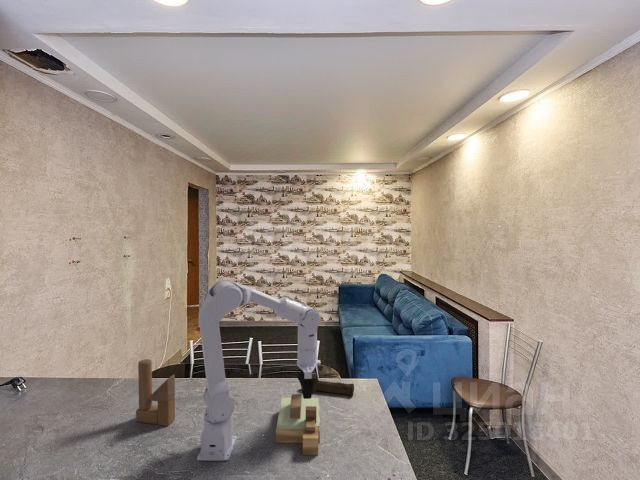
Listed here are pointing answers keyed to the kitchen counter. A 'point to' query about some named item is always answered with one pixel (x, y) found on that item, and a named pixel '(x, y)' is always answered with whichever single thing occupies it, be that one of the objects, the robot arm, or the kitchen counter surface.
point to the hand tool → (333, 387)
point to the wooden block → (155, 397)
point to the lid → (296, 412)
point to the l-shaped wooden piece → (310, 418)
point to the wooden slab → (300, 438)
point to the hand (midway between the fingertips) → (306, 391)
